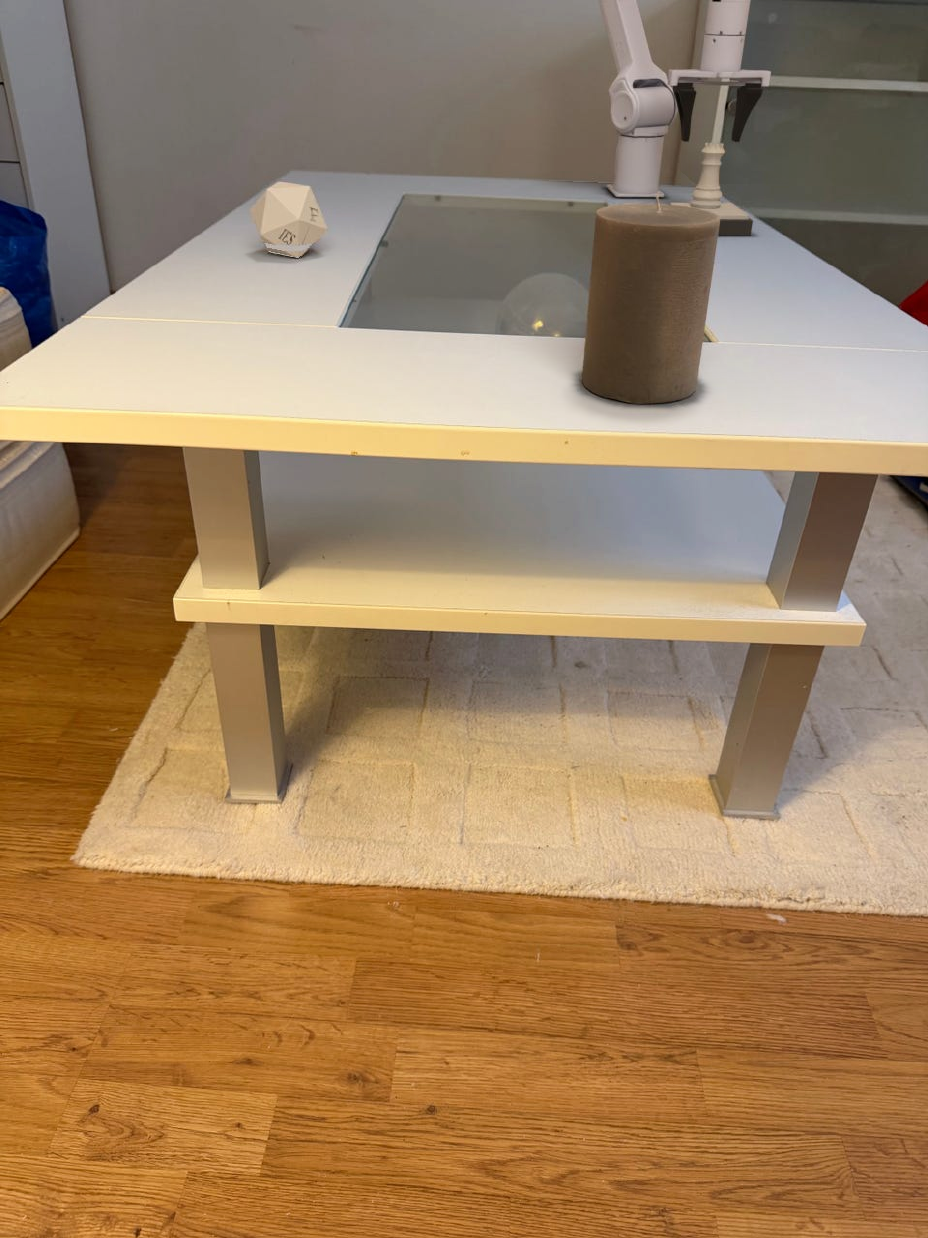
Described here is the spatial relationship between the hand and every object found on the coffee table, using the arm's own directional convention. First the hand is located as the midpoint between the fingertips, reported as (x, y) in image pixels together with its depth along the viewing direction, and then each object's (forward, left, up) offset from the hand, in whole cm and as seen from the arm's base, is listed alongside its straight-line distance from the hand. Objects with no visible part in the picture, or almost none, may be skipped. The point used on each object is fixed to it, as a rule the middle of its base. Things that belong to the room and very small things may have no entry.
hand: (710, 140), depth 143 cm
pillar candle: (+79, -25, -10) cm, 83 cm away
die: (+31, -60, -10) cm, 68 cm away
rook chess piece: (+13, -3, -7) cm, 15 cm away
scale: (+15, -3, -9) cm, 18 cm away
